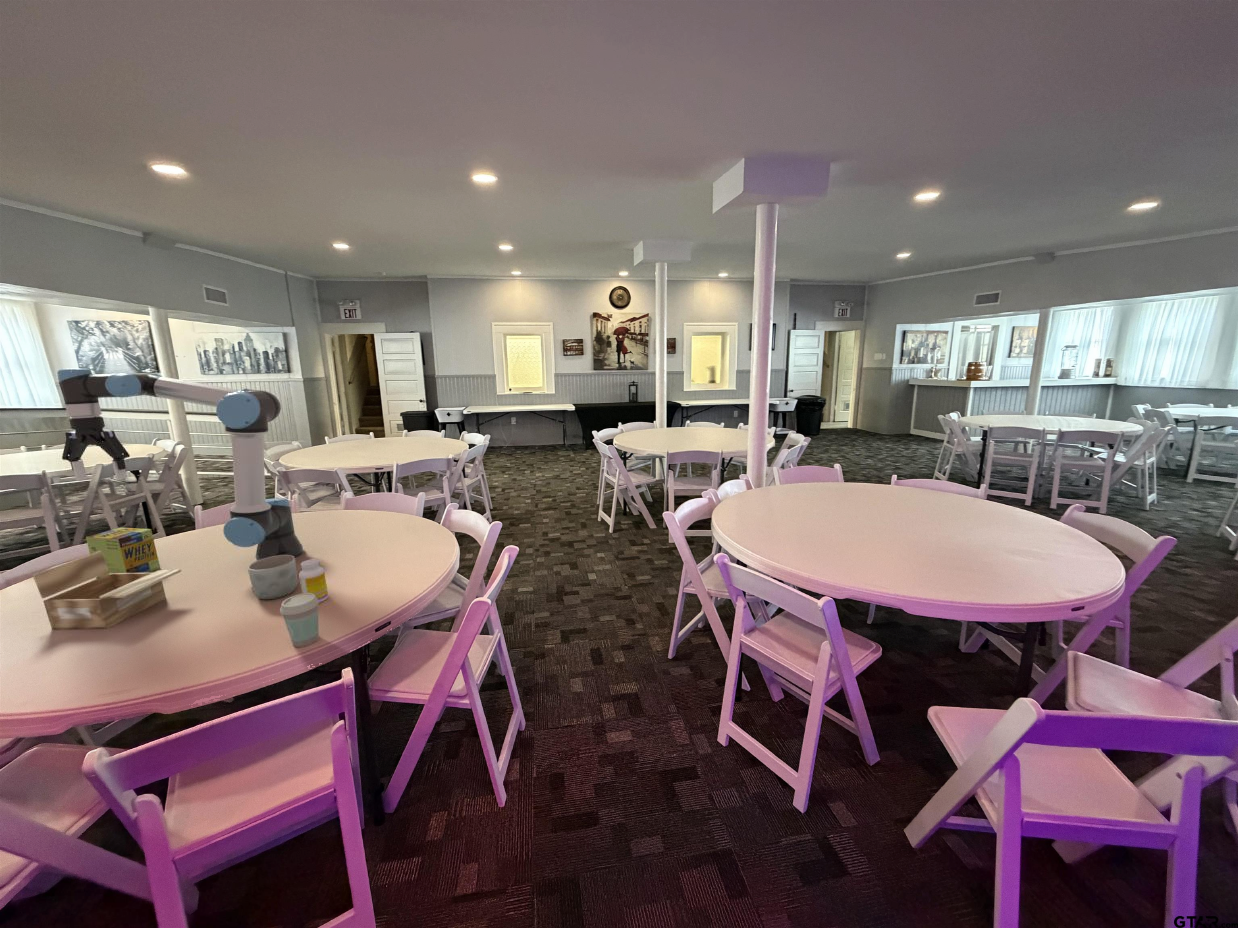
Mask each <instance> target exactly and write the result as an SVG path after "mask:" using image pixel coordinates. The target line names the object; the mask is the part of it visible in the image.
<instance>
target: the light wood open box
mask: <svg viewBox="0 0 1238 928" xmlns="http://www.w3.org/2000/svg"><path fill="white" fill-rule="evenodd" d="M181 572H182V569H162V570H161V569H157V570H155V571H154V572H153V571H152V572H148V573H110V574H108V575H105V576H103V577H97V578H96V579H92V580H90V581H87V582H85V583H84V584H83V583H82V585H79V586H78V585H77V586H75V587H73V588H71V589H68V590H67V591H66V590H65V591H64V592H62V593H59V594H57V595H56V594H55V596H54V595H53V596H52V597H49V598H46V599H44V600H43V605H44V608H45V611H46V615H47V617H48V621H49V624H50V627H51V630H53V631H54V630H55V631H57V630H58V631H59V630H63V631H64V630H107V629H109V628H112V627H113V626H115V625H117V624H119V623H120V622H122V621H125V620H127V619H128V618H131V617H132V616H134V615H137V614H139V613H140V612H142V611H145V610H146V609H148V608H150V607H152V606H154V605H156V604H158V603H160V602H162V601H164V600H166V599H167V596H166V593H165V587H164V584H163V581H164V580H166V579H168V578H171V577H172V576H173V577H174V575H177V574H179V573H181Z"/></svg>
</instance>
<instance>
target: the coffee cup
mask: <svg viewBox="0 0 1238 928" xmlns="http://www.w3.org/2000/svg"><path fill="white" fill-rule="evenodd" d="M279 613H280V614H281V615H282V617H283V620H284V624H285V626H286V628H287V631H288V635H289V637H290V639H291V643H292V646H293V647H295V648H303V647H307V646H310V645H312V644H314V643H316V642H317V641H318V640H319V639H320V638H319V637H320V634H319V601H318V598H316V596H315V595H314V594H312V593H304V594H302V593H299V594H295V595H293V596H290V597H288V598H286V599H284V600H283V601H282V602H281V605H280V608H279Z"/></svg>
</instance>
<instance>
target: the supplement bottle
mask: <svg viewBox="0 0 1238 928" xmlns="http://www.w3.org/2000/svg"><path fill="white" fill-rule="evenodd" d="M319 565H320V561H319V559H318V558H312V559H311V558H310V559H307V560H304V561H302V562H301V563H300V568H301V569H302V570H300V572H299V574H298V578H299V583H300V584H299V585H300V588H301V589H300V590H301V594H304V593H312V594H314V595H315V596H316V598H318V601H319V603H322V602H324V601H326V600H327V599H328V597H329V591H328V585H327V581H326V575H325V569H324V568H323V567H322V566H319ZM319 603H318V604H319Z"/></svg>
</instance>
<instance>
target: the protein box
mask: <svg viewBox="0 0 1238 928" xmlns="http://www.w3.org/2000/svg"><path fill="white" fill-rule="evenodd" d="M85 539H86V543H87V548H88V550H89V555H90V554H93V553H96V552H99V551H101V552H102V555H103V557H104V560H105V563H106V565H107V568H108V571H109V572H108V573H105V574H103V575H100V576H98V577H97V578H101V577H103V576H105V575H108V574H110V573H152V572H153V571H154V572H155V571H157V570H160V569H161V564H160V561H159V557H158V551H157V548H156V544H155V540H154V535H153V531H152V528H151V529H150V528H136V527H135V528H134V527H118V528H113V529H111V530H107V531H103V532H99V533H94V534H92V535H87V536H85Z"/></svg>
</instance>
